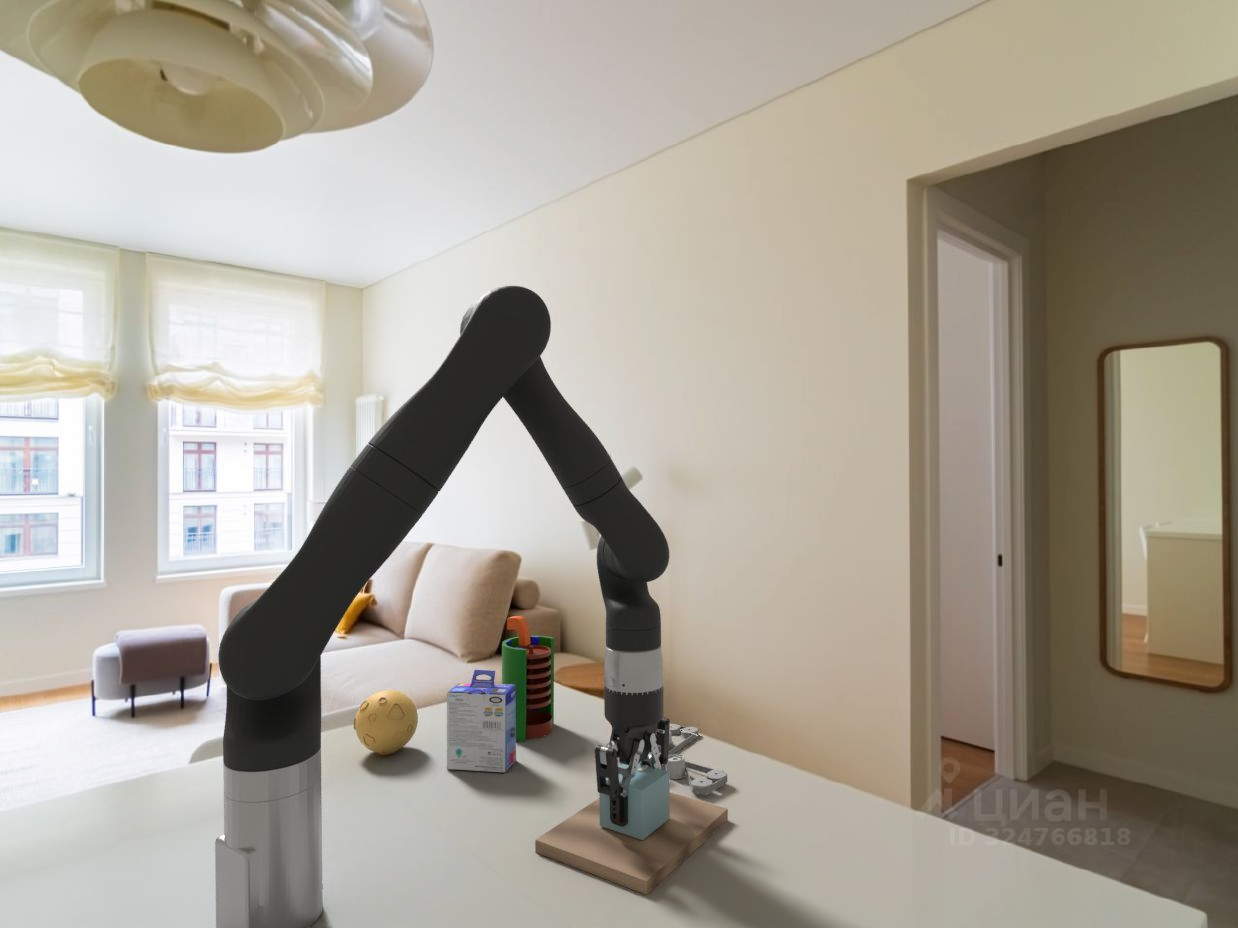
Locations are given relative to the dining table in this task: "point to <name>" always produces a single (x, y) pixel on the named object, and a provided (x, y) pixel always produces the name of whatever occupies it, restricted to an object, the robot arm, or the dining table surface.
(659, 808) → the mini blue cabinet
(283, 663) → the robot arm
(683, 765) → the pulley system
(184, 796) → the dining table surface
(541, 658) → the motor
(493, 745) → the ink cartridge box
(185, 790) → the dining table surface
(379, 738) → the stress ball
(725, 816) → the mounting plate
